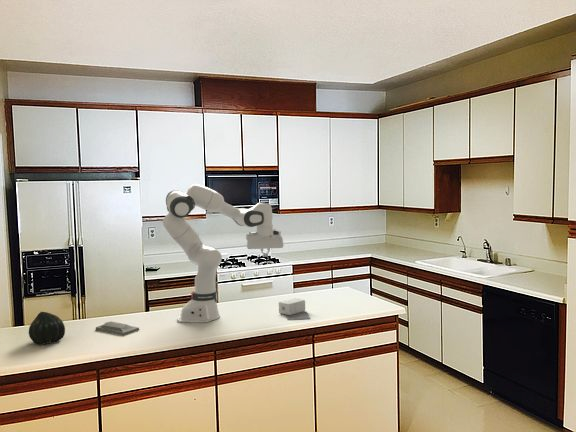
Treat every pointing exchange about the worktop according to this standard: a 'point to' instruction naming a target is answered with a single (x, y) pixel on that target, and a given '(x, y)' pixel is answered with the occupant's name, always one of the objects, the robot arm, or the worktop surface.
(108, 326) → the soap mold
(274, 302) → the worktop surface
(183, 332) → the worktop surface
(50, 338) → the squash
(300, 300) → the small box
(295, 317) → the mat
